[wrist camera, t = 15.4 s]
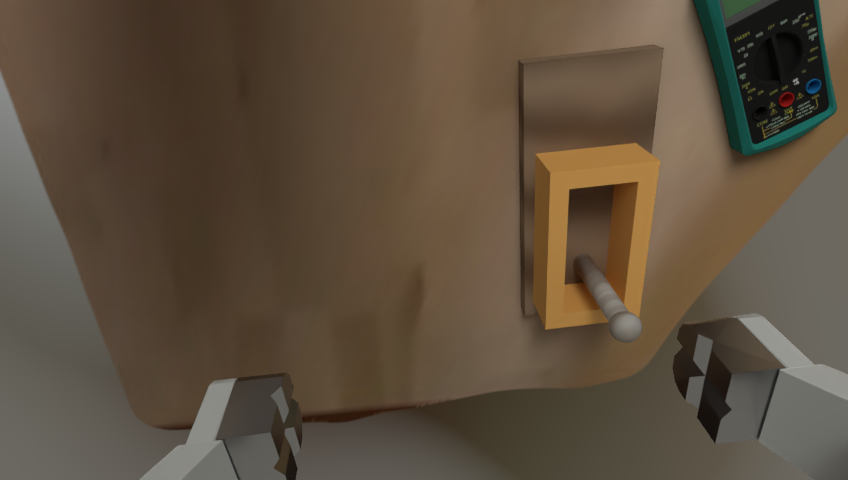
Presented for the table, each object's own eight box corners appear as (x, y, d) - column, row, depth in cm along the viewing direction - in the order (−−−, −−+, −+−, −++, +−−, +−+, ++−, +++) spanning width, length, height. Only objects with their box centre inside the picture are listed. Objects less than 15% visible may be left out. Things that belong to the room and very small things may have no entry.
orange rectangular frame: (535, 153, 40) (550, 173, 37) (635, 142, 41) (660, 160, 37) (533, 301, 47) (545, 329, 44) (619, 291, 47) (638, 318, 44)
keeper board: (518, 60, 38) (568, 98, 28) (653, 44, 39) (752, 77, 28) (521, 306, 49) (558, 398, 39) (627, 292, 49) (692, 381, 39)
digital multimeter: (728, 154, 44) (751, 166, 41) (683, -21, 37) (706, -19, 35) (817, 110, 43) (845, 120, 40) (786, -79, 36) (818, -82, 33)
